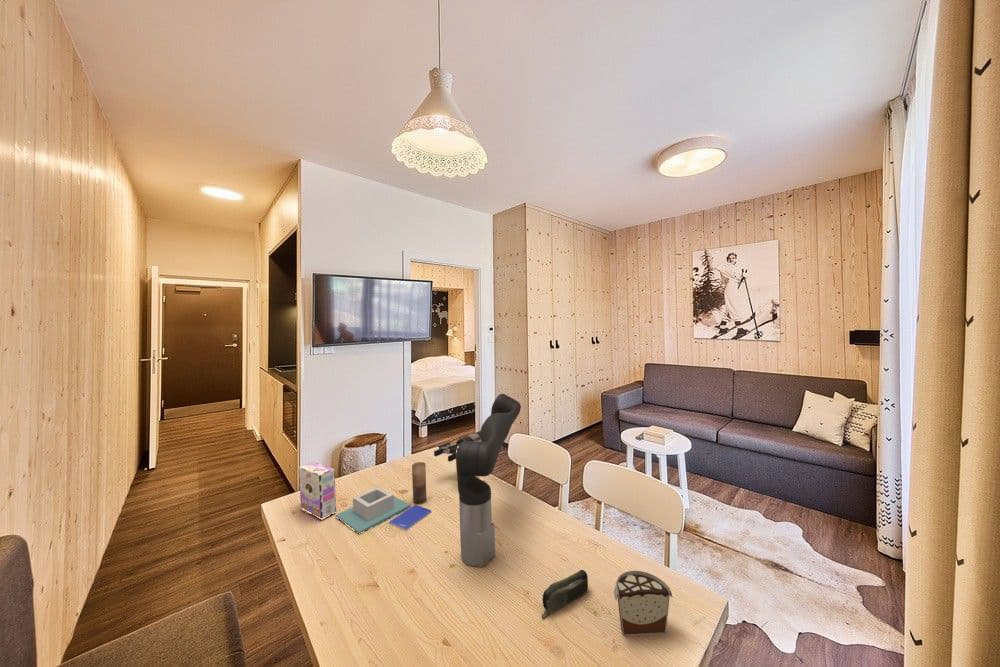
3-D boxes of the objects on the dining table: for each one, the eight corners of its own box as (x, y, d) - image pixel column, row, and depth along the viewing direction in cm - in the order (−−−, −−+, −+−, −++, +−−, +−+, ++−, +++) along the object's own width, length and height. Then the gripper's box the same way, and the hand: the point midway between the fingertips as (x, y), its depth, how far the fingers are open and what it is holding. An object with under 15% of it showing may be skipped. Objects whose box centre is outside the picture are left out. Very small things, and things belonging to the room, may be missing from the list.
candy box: (337, 513, 122) (335, 468, 122) (321, 521, 117) (319, 475, 117) (315, 503, 130) (314, 460, 129) (300, 510, 125) (298, 466, 124)
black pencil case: (581, 566, 87) (536, 591, 79) (590, 573, 85) (544, 600, 76) (581, 585, 87) (536, 612, 79) (590, 592, 85) (544, 621, 76)
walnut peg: (429, 500, 130) (428, 464, 129) (418, 505, 126) (417, 468, 125) (421, 496, 133) (419, 461, 132) (410, 501, 129) (409, 465, 129)
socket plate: (410, 507, 125) (410, 491, 125) (359, 534, 109) (358, 516, 109) (386, 494, 135) (385, 479, 135) (335, 517, 119) (334, 501, 119)
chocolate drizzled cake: (658, 609, 79) (658, 567, 79) (672, 633, 73) (672, 588, 72) (606, 611, 79) (605, 569, 78) (616, 636, 72) (615, 591, 72)
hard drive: (405, 528, 111) (431, 510, 121) (388, 521, 115) (414, 504, 125) (405, 533, 111) (431, 514, 121) (388, 525, 115) (415, 508, 126)
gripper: (457, 432, 155) (429, 443, 142) (480, 439, 146) (453, 451, 133) (458, 448, 155) (430, 461, 143) (481, 456, 146) (453, 470, 134)
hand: (441, 456), depth 138 cm, fingers open, 8 cm apart
